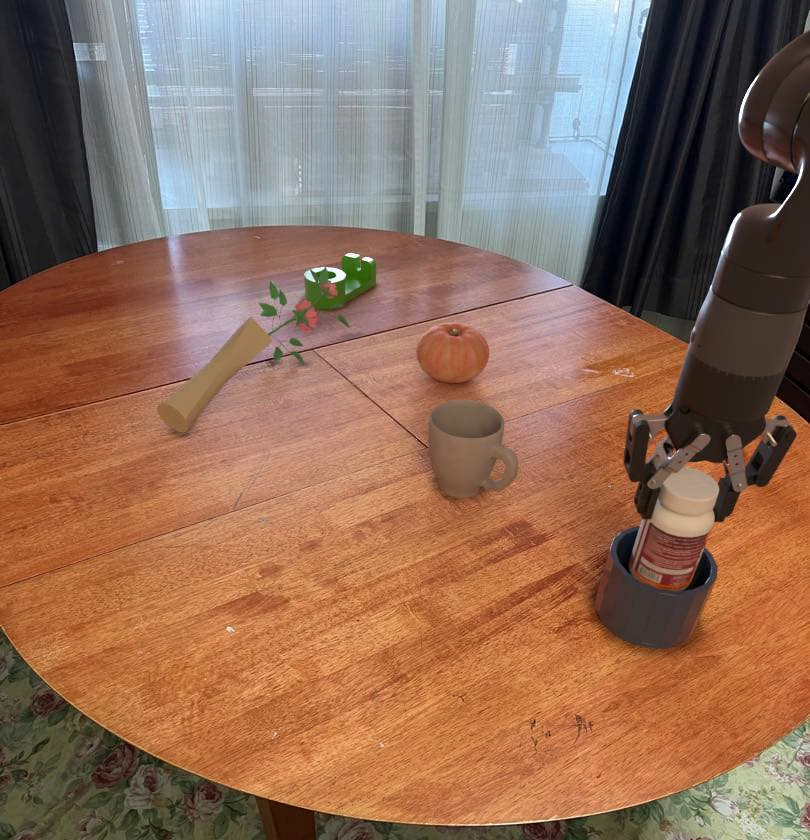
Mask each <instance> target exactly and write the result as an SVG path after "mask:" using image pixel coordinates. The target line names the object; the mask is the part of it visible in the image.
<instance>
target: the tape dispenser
mask: <svg viewBox="0 0 810 840" xmlns="http://www.w3.org/2000/svg"><path fill="white" fill-rule="evenodd" d="M325 267H326V268H327V271H328V280H330V281H331V283H333V282H334V284H335V285H336V287H337V288H335V290H337V291H338V293H337V296H336V295H332V296H333V297H334V298H331V299H329V297H325V298H324V296H323V297H322V298H321V299H320V300H319V301H318V302H317V303H316V304H315V305H314V306H313V307H314V308H316V309H318V310H333V309H332V305H333V304H343V305H345V304H347V302H349V301H352V300H353V299H354V298H356V297H358V296H360V295H361V294H363V293H365V292H367V291H368V290H369V289H372V288H373V287H375V286H376V285H377V261H375V260H374V259H373V258H371V257H367V256H365V257H363V258H362V259H361V255H360V254H357V253H353V252H349V253H347V254H345V255H343V256H342V257H341V269H339V268H336V267H329V266H322V267H321V266H320V267H314V268H310V269H307V270H306V271H305V272H304V297H305V298H304V300H306V301H309V302H311V305H313V304H314V303H315V302H316V301H317V300H318V299H319V294H320V297H321V296H322V295H323V294H322V293H321V291H320V289H319V288H320V286H319V285H321V283H320V282H319V281H318V283H317V285H316V282H315V280H314V278H313V276H312V274H311V271H310V270H312V271H314V272H315V273H316V274H317V276H318V279H319V276H320V273H321V271H322V270H323V269H324V268H325ZM317 286H318V288H317ZM318 289H319V290H318Z"/></svg>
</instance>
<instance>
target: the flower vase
mask: <svg viewBox="0 0 810 840" xmlns="http://www.w3.org/2000/svg"><path fill="white" fill-rule="evenodd" d="M324 267H325V268H324V269H323V270H322V271H321V273H320V276H319V279H318V276H317V274H316V273H315V272H314V271H312V270H310V269H309V270H310V271H311V274H312V276H313V278H314V280H315V282H316V285H317V283H318V281H319V282H320V283H321V285H319V286H320V288H319V289H320V291H321V293H322V294H323V295H322V296H321V297H320V294H319V299H318V300H317V301H316V302H315V303H314V304H313V305H311V302H309V301H306V300H305V299H303V300H301V299H299V300H298V302H297V303H295V304H294V307H295V308H293V309H291V310H290V311H291V312H292V313H293V317H292V318H290V319H288V320H287V321H285V322H283V323H282V324H280V325H279V326H278V327H276V328H274V320H275V317H276V316H277V317H278V318H279V319H278V320H281V314H282V309H283V307H285V306H286V305H287V304H288V299H287V297H286V295H285V293H284V292H283V291H282V290H281V289H279V290H278V288H277V286H276V285H275V284H274V282H273V281H272V280H269V287H268V288H269V294H270V298H271V299H273V300H274V301H273V302H274V305H275V306H274V305H271V304H269V303H266V302H258V305H259V306H260V308H261V309H262V312H261V314H259V316H260V317H265V318H271V317H273V318H272V322H271V323H272V324H271V328H272V330H271V331H270V332H269V333H267V332H266V331H265V330H264V329H263V328H262V326H261V325H260V324H259V323H258V322H257V321H256V320H255V319H254V317H252V316H250V317H249V318H247V319H246V320H245V321H244V323H242V324H241V325H240V326H239V327H238V328H236V330H235V331H234V332H233V333H232V335H231V336H230V337H229V338H228V340H226V342H225V343H224V344H223V345H222V347H221V348H220V349H218V351H217V352H216V354H215V355H213V357H212V359H211V360H209V362H208V363H207V364H206V365H205V366H203V367H202V368H201V369H200V370H199V371H197V372H196V373H195V374H194V375H193V376H192V377H190V378H189V379H188V380H187V381H186V382H185V383H183V384H182V385H181V386H180V387H178V388H177V389H176V390H175V391H174V392H173V393H171V394H170V395H168V396H167V397H166V398H165V399H163V400H162V401H160V403H158V404H157V408H156V410H157V413H158V414H159V417H160V419H161V420H162V421H163V422H164V423H165V424H166V426H168V427H169V428H172V429H173V430H174V431H176V432H179V433H182V434H184V433H186V432H188V431H189V430H190V428H191V427H192V426H193V425H194V424H195V422H196V421H197V420H198V418H199V417H200V416H201V414H202V413H203V412H204V411H205V409H206V407H208V405H209V404H210V403H211V402H212V400H213V399H214V398H215V397H216V395H218V393H219V392H220V391H221V390H222V388H223V387H225V385H226V384H227V383H228V382H229V381H230V380H231V379H232V378H233V377H234V376H235V375H237V374H238V373H239V372H240V371H241V370H243V368H245V366H247V365H248V364H249V363H250V362H251V361H252V360H254V359H255V358H256V357H257V356H258V355H259V354H260V353H261V352H263V351H264V350H265V349H266V348H267V347H269V345H271V344H272V342H274V340H273V338H274V339H276V340H277V341H278V342H279V343H280V344H279V347H278V346H275V349H274V352H273V363H274V362H276V361H279V360H280V359H281V358H282V357H283V354H284V352H283V351H282V350H281V348H280V347H281V345H282V346H283V348H284V349H285V350H286V351H287V352H288V353H290V355H292V356H293V357H294V358H295V359H297V360H298V361H299V362H300V363H301V364H303V365H305V362H304V358H303V357H302V355H301V354H300V353H299V352H298V351H296V350H294V351H289V350H288V349H287V348H286V347H285V346H284V344H283V343H286V341H285V340H282V341H281V340H279V339H278V338H276V337H275V336H274V335H273V334H274V333H276V332H277V331H279V330H281V328H283V327H285V326H287V325H288V324H291V323H293V322H294V321H295V322H294V325H295V327H298V328H299V331H302V330H303V334H305V333H312V329H311V328H313V329H316V327H317V326H318V316H319V314H318V312H321V313H324V314H326V315H329V316H330V317H331V316H332V317H334V318H337V320H338V321H339V322H340V323H342V324H343V325H344V326H345V327H347V328H349V329H351V327H350V325H349V322H348V320H347V319H346V318H345V317H344V316H343V315H342V314H339V315H337V316H336V315H332V314H329V313H328V312H331V310H334V309H339V308H342V307H345V306H346V305H345V304H344V305H343V304H333V305H332V309H328V310H321V309H318V308H314V307H313V306H314V305H315V304H316V303H317V302H318V301H319V300H320V299H321V298H322V297H323V296H324V298H325V297H329V299H331V298H334V297H333V296H332V295H336V296H337V293H338V291H337V290H335V288H337V287H336V285H335V284H334V282H333V283H331V281H330V280H328V271H327V268H326V267H327V266H324ZM317 288H318V286H317ZM319 289H318V290H319ZM277 299H278V301H279V304H280V305H281V306H282V307H281V308H280V312H279V310H278V306H277V304H276V301H277ZM310 327H311V328H310ZM272 337H273V338H272ZM282 342H283V343H282ZM288 343H289V344H290V345H292V346H294V347H299V348H300V347H304V344H303V343H302V342H301V341H300V340H299V339H297V338H296V337H295V338H294V337H290V338H289V341H288Z"/></svg>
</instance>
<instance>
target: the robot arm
mask: <svg viewBox="0 0 810 840" xmlns="http://www.w3.org/2000/svg"><path fill="white" fill-rule="evenodd" d="M737 123H738V124H737V125H738V126H737V127H738V134H739V135H738V136H739V138H740V141H741V144H742V146H743V147H744V149H745V150H746V151H747V152H748V153H749V154H750V155H752V156H753V157H754V158H756V159H757V160H759V161H760V162H763V163H765V164H769V165H770V166H773V167H776V168H778V169H781V170H784V171H786V172H789V173H792V174H794V175H797V176H798V177H797V180H796V182H795V184H794V186H793V188H792V190H791V191H790V193H789V195H788V196H787V197H786V198H785V200H784V201H783V202H782V203H758V204H754V205H750V206H748V207H746V208H744V209H742V210H741V211H740V212H739V213H737V214H736V216H735V217H734V219H733V221H732V223H731V224H730V226H729V228H728V231H727V234H726V237H725V240H724V243H723V245H722V250H721V253H720V256H719V259H718V263H717V265H716V269H715V272H714V276H713V278H712V281H711V285H710V286H709V290H708V292H707V295H706V297H705V299H704V301H703V303H702V305H701V308H700V310H699V312H698V315H697V317H696V320H695V324H694V327H693V328H692V330H691V332H690V335H689V343H688V347H687V350H686V354H685V357H684V359H683V362H682V365H681V369H680V373H679V376H678V379H677V382H676V384H675V389H674V393H673V399H672V401H671V402H670V404H669V405H668V407H666V409H665V410H664V411H663V412H662V413H656V414H655V413H654V414H645V413H644V412H643V411H642V409H639V408H637V409H633V410H632V411H630V413H629V414H628V415H629V416H628V421H627V429H626V437H625V445H624V453H623V461H622V462H623V463H622V464H623V466H624V468H625V471H626V475H627V476H628V479H629V481H630V482H632V483H638V485H637V488H636V491H635V494H634V498H633V503H634V506H635V509H636V511H637V514H639V515H640V517H641V520H642V519H651V518H652V515H653V512H654V509H655V506H656V503H657V500H658V497H659V494H660V491H661V489H660V485H661V484H662V483H663V482H664V481H665V480H666V479H667V478H668V477H669V476H670V475H671V474H672V473H677V472H679V471H680V470H681V469H682V467H685V466H686V465H687V464H688V463H700V462H708V463H713V464H722V468H723V472H724V477H719V480H718V482H717V484H718V486H719V493H718V496H717V499H716V503H715V505H714V508H713V511H714V515H715V520H714V523H724V522H725V519H726V518H729V517H730V516H731V515H732V514H733V512H734V510H735V507H736V504H737V503H738V501H739V498H740V495H741V494H742V492H743V491H745V490H746V489H747V488H748V487H751V486H756V487H758V488H763V487H764V488H765V487H766V486H768V485H769V484H770V482H771V480H772V479H773V476H774V475H775V474H776V471H777V470H778V468H779V467H780V465H781V463H782V461H783V460H784V459H785V456H786V455H787V453H788V451H789V450H790V449H791V447H792V445H793V443H794V441H795V440H796V438H797V435H798V433H797V431H796V430H795V428H794V426H793V425H792V424H791V422H790V421H789V420H788V419H787V417H786V416H784V415H781V414H778V415H776V416H775V417H773V418H767V417H766V416H767V414H768V413H769V411H770V410H771V408H772V405H773V402H774V400H775V397H776V395H777V393H778V390H779V388H780V386H781V383H782V381H783V378H784V375H785V373H786V371H787V368H788V366H789V363H790V361H791V358H792V356H793V354H794V352H795V349H796V346H797V344H798V341H799V338H800V336H801V332H802V329H803V325H804V321H805V318H806V317H805V316H806V313H807V310H808V308H809V304H810V29H808V30H807V31H805V32H803V33H801V34H800V35H799V36H797V37H796V38H795V39H793V40H792V41H791V42H789V43H788V44H786V45H785V46H784V47H783V48H781V49H780V50H779V51H778V52H777V53H776V54H775V55H774V56H772V58H771V59H770V60H769V61H768V62H767V63H766V64H765V65H764V66H763V67H762V68H761V70H760V71H759V73H758V74H757V75H756V77H755V78H754V79H753V81H752V83H751V84H750V86H749V88H748V89H747V91H746V94H745V96H744V98H743V100H742V104H741V106H740V110H739V114H738V121H737ZM661 430H665V432H666V434H665V435H664V436H663V438H662V439H661V440H660V441H659V442H658V443H657V444H656V446H655V449H654V453H652V454H651V455H650V457H649V458H648V459H647V455H648V453H647V452H648V448H649V447H648V445H649V443H652V442H654V440H655V438H656V437H657V433H658V432H659V431H661ZM758 437H760V440H759V443H758V444H757V445H756V448H755V450H754V451H753V453H752V455H751V457H750V459H749V461H748V462H747V464H746V462H745V458H744V452H743V449H744V448H745V447H747V446H748V445H750V444H751V443H752V442H754V441H755V440H756V439H757V438H758ZM674 450H675V453H674Z"/></svg>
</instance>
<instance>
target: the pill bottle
mask: <svg viewBox="0 0 810 840" xmlns="http://www.w3.org/2000/svg"><path fill="white" fill-rule="evenodd" d="M660 489H661V491H660V494H659V497H658V500H657V503H656V506H655V509H654V512H653V515H652V518H651V519H642V518H641V522H640V525H639V526H640V528H639V531H638V535H637V538H636V541H635V544H634V547H633V551H632V554H631V558H630V561H629V570H630V573H631V575H632V576H633V577H635V578H636V579H638V580H639V581H641V582H642V583H645V584H648V585H650V586H653V587H655V588H658V589H663V590H670V591H683V590H685V589H686V588H687V587H688V586H689V584H690V583H691V581H692V578H693V576H694V573H695V571H696V568H697V566H698V563H699V561H700V558H701V556H702V553H703V550H704V548H706V546H707V542H708V540H709V537H710V534H711V532H712V530H713V527H714V523H715V522H714V520H715V515H714V511H713V508H714V505H715V503H716V499H717V496H718V493H719V486H718V482H717V480H715V479H714V477H713V476H711V475H709V474H708V473H706V472H704V471H702V470H700V469H697V468H693V467H688V466H683V467H682V469H681V470H680V471H679V472H677V473H672V474H671V475H670V476H669V477H668V478H667V479H666V480H665V481H664V482H663V483H662V484H661V485H660Z"/></svg>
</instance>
